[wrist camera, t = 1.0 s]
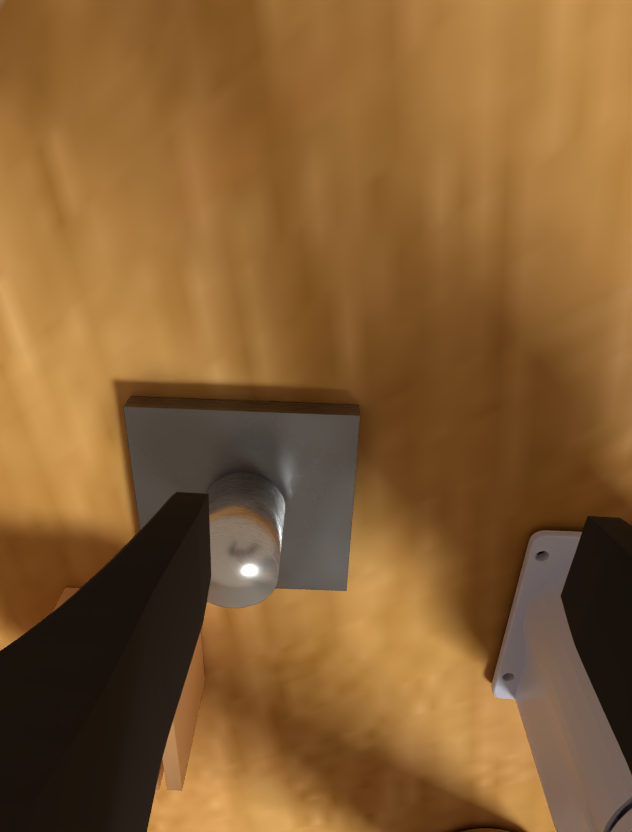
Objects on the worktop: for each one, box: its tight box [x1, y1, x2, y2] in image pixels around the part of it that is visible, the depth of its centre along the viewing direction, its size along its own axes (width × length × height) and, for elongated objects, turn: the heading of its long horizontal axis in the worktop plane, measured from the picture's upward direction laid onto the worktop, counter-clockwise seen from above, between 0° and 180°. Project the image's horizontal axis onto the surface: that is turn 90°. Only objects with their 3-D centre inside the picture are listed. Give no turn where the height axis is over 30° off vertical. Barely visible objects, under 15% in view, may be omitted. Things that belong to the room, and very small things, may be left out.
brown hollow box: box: [53, 587, 205, 791], centre depth 24 cm, size 6×6×5 cm
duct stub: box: [124, 396, 360, 608], centre depth 21 cm, size 8×8×4 cm
